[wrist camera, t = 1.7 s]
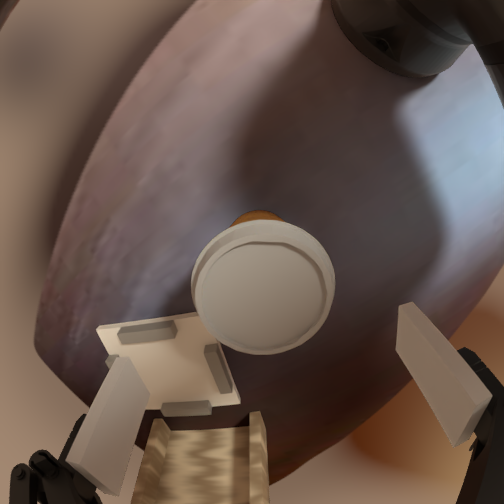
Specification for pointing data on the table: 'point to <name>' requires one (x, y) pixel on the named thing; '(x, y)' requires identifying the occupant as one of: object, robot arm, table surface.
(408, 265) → the table surface
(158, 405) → the seat plate
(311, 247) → the disposable coffee cup
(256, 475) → the upright plywood slab
